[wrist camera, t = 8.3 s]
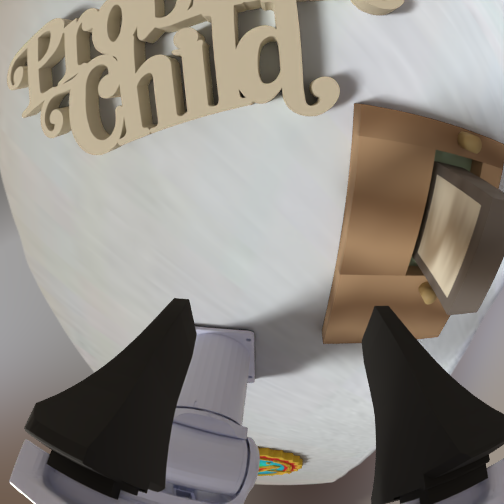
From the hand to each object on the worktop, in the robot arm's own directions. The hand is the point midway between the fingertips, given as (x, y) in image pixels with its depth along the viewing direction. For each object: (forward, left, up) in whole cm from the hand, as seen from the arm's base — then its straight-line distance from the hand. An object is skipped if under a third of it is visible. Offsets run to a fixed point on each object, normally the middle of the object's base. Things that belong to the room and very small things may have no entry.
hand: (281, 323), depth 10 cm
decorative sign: (+13, +7, -11) cm, 18 cm away
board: (-2, -11, -10) cm, 15 cm away
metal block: (+1, -13, -10) cm, 16 cm away
